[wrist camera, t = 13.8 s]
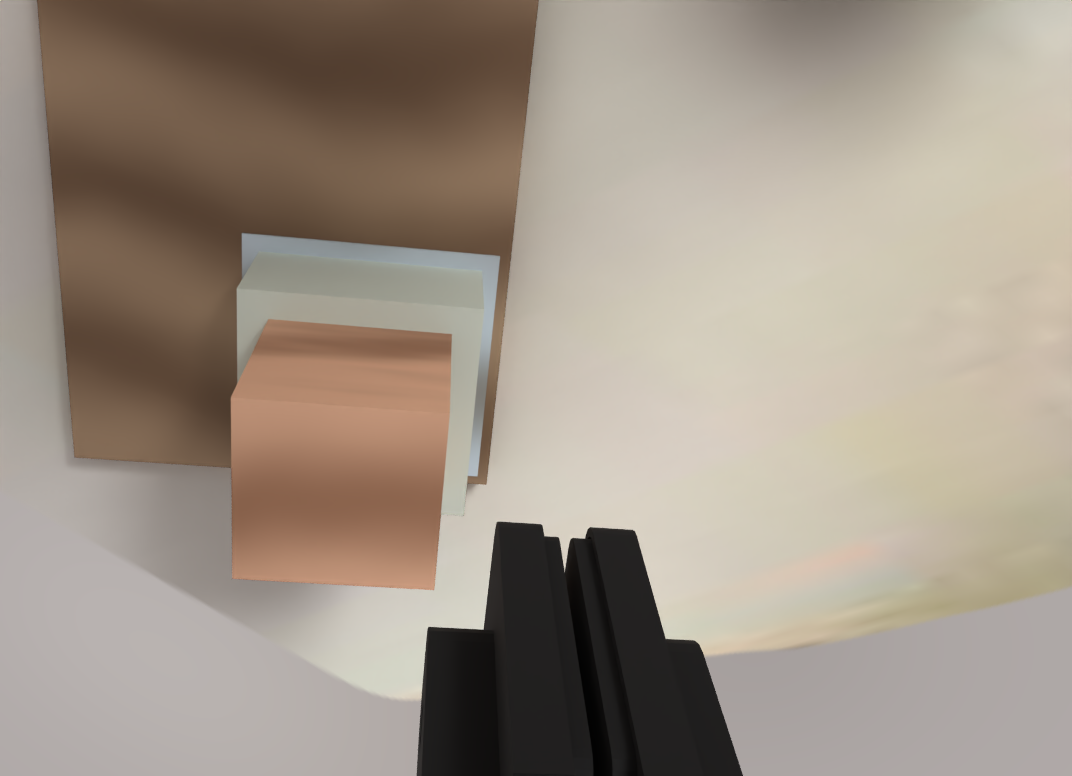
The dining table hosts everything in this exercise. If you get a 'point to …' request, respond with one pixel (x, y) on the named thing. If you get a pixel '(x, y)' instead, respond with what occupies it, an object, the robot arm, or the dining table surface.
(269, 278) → the base block
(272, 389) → the top block
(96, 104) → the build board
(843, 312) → the dining table surface
